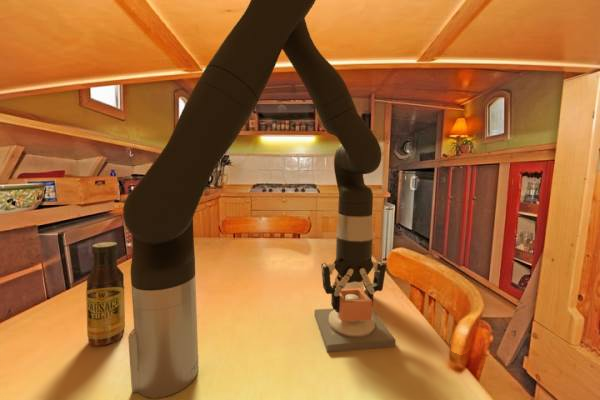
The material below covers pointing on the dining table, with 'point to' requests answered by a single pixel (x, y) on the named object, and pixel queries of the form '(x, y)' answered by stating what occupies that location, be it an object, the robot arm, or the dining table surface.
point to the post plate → (352, 331)
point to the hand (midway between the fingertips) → (352, 309)
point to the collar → (355, 306)
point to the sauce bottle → (105, 296)
